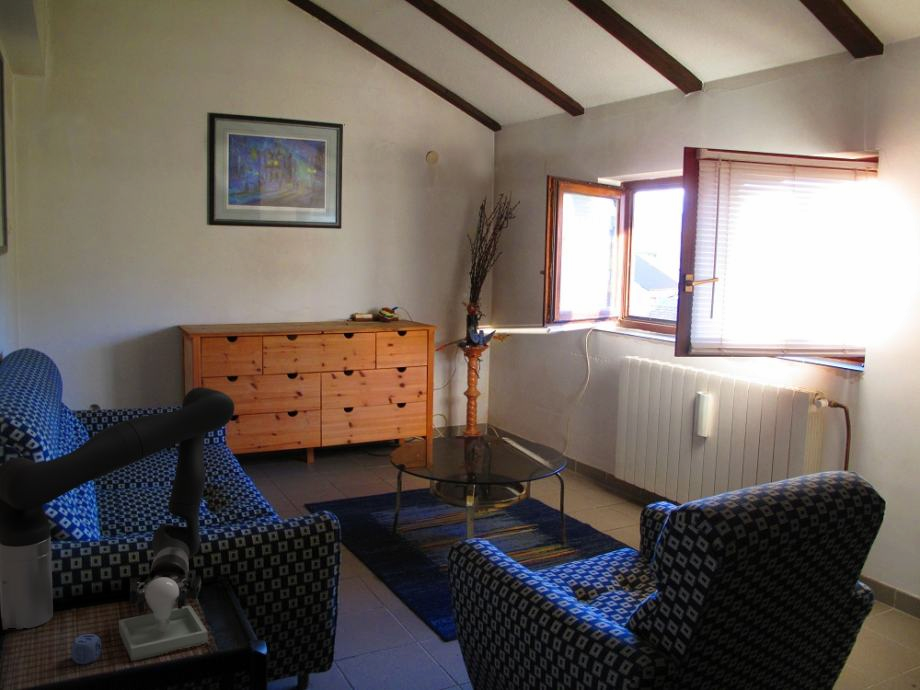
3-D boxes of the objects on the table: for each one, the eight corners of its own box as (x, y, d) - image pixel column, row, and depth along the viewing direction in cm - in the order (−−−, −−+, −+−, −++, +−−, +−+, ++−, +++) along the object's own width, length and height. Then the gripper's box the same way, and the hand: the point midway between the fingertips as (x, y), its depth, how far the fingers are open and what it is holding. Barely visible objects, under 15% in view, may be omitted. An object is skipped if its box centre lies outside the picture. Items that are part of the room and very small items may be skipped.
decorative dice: (101, 653, 156) (101, 633, 155) (93, 664, 152) (93, 644, 152) (80, 653, 156) (79, 633, 155) (71, 664, 152) (70, 644, 151)
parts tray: (131, 661, 153) (131, 648, 153) (118, 631, 164) (118, 620, 164) (207, 643, 161) (207, 631, 161) (190, 616, 172) (190, 605, 171)
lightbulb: (168, 641, 159) (167, 587, 157) (138, 637, 160) (137, 583, 158) (186, 626, 165) (185, 573, 163) (157, 622, 166) (156, 570, 165)
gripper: (132, 555, 173) (120, 590, 157) (204, 551, 177) (199, 584, 161) (133, 589, 174) (121, 627, 158) (204, 584, 178) (200, 621, 162)
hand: (161, 605), depth 159 cm, fingers closed on lightbulb, 6 cm apart
